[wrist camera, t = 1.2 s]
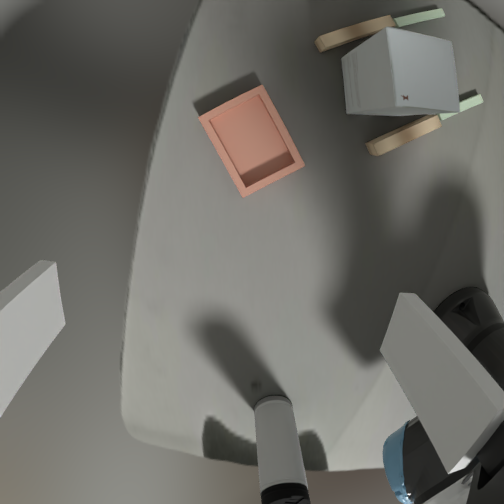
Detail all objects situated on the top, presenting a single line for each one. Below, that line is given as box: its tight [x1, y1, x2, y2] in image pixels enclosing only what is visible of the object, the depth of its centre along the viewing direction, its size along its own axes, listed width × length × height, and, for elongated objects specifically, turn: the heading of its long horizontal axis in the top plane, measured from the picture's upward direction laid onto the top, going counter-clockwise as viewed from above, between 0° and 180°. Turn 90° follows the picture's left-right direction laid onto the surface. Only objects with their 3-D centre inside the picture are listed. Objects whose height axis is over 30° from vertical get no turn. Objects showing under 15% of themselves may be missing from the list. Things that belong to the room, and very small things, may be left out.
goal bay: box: [393, 8, 483, 120], centre depth 31 cm, size 9×14×1 cm, turn 28°
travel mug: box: [254, 396, 310, 504], centre depth 39 cm, size 6×7×20 cm
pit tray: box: [198, 85, 305, 198], centre depth 34 cm, size 8×10×2 cm
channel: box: [314, 15, 442, 156], centre depth 31 cm, size 10×15×2 cm, turn 28°
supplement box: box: [341, 27, 460, 116], centre depth 27 cm, size 7×7×13 cm
